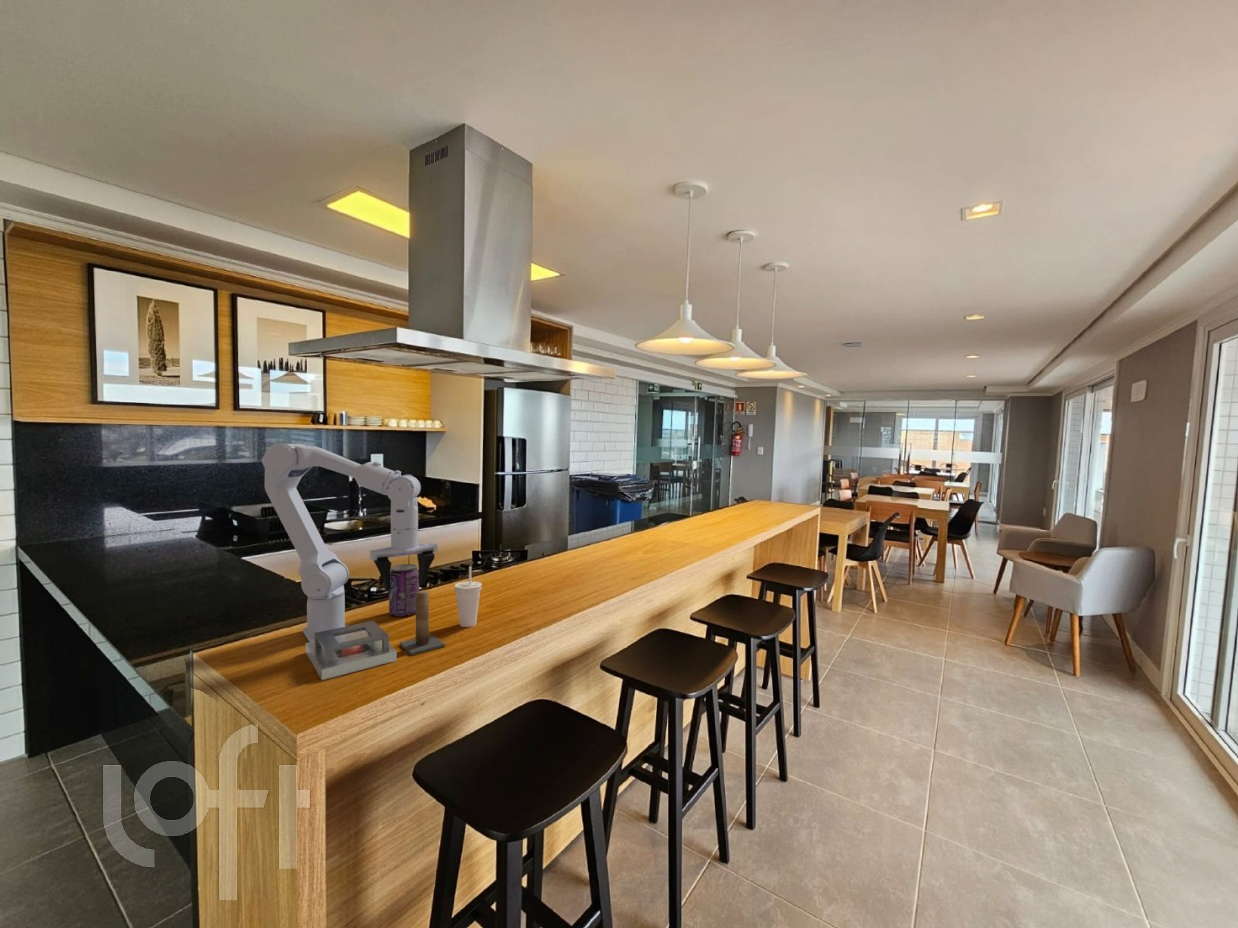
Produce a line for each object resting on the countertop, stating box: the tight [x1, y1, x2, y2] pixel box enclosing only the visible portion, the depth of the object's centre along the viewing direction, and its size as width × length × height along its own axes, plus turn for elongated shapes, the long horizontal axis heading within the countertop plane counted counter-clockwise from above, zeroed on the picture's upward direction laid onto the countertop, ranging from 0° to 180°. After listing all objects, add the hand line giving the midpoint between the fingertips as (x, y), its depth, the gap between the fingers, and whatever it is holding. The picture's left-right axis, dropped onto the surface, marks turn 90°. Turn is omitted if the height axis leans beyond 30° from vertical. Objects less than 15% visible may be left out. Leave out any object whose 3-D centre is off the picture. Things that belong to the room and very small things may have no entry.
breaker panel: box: [305, 620, 398, 681], centre depth 100 cm, size 16×13×5 cm
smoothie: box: [453, 566, 483, 628], centre depth 119 cm, size 6×6×14 cm
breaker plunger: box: [341, 645, 363, 658], centre depth 99 cm, size 4×4×2 cm
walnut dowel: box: [415, 590, 430, 646], centre depth 106 cm, size 3×3×11 cm
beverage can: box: [388, 563, 420, 617], centre depth 126 cm, size 7×7×12 cm
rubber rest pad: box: [399, 634, 446, 657], centre depth 106 cm, size 7×7×1 cm
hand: (404, 586), depth 114 cm, fingers open, 7 cm apart
